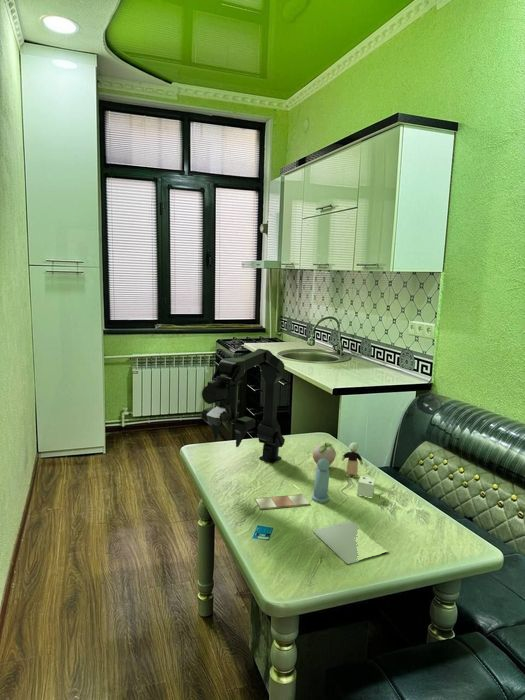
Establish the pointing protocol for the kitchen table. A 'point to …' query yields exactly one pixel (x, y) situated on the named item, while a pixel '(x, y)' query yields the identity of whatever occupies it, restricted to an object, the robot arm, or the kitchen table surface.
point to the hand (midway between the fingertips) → (226, 443)
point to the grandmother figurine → (352, 460)
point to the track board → (281, 502)
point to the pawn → (321, 482)
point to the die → (366, 486)
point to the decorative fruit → (324, 453)
